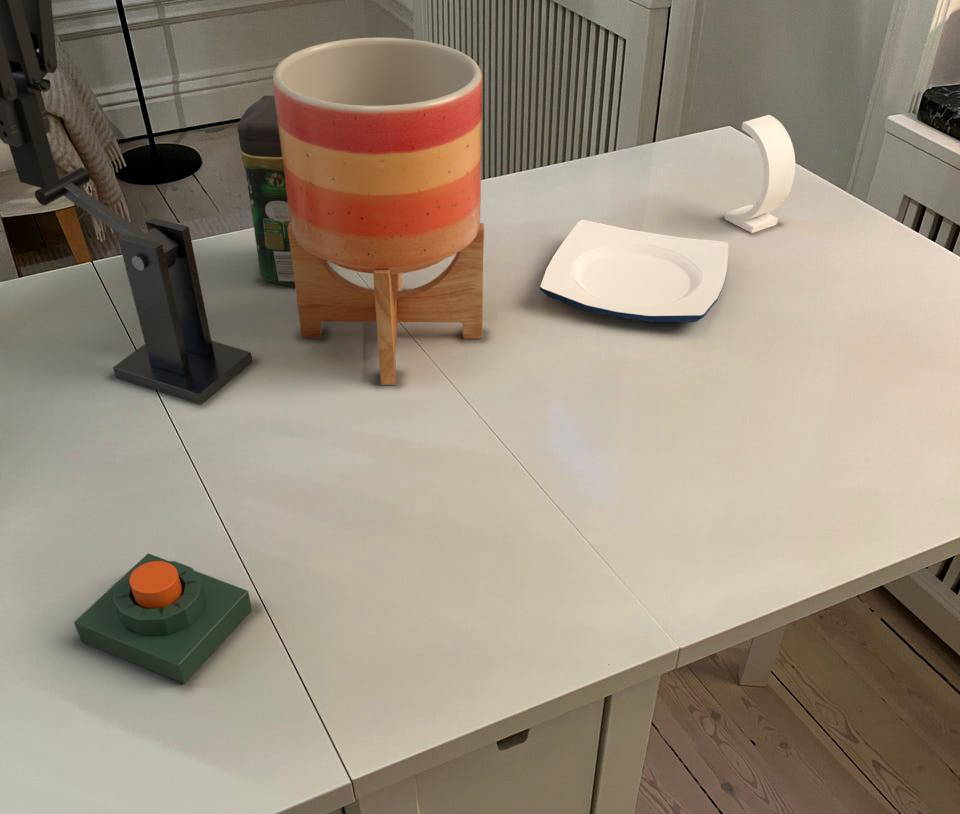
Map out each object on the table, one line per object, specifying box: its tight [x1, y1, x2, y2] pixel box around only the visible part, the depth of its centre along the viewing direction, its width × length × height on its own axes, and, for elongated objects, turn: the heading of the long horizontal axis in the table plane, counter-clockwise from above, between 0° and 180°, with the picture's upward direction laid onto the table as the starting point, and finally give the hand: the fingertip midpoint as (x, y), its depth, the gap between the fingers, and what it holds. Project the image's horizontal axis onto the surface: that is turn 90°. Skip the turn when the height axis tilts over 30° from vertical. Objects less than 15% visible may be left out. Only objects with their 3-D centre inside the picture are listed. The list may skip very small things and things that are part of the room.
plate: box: [539, 219, 730, 323], centre depth 120 cm, size 20×20×3 cm
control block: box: [73, 553, 253, 685], centre depth 80 cm, size 10×9×4 cm
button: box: [129, 561, 182, 609], centre depth 78 cm, size 4×4×2 cm
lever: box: [34, 166, 178, 268], centre depth 97 cm, size 13×6×2 cm, turn 64°
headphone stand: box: [724, 114, 796, 234], centre depth 128 cm, size 5×6×12 cm
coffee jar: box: [237, 94, 328, 286], centre depth 116 cm, size 10×8×19 cm
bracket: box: [112, 217, 254, 405], centre depth 102 cm, size 11×9×15 cm
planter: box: [272, 37, 485, 386], centre depth 102 cm, size 20×20×27 cm
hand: (39, 181), depth 80 cm, fingers closed
